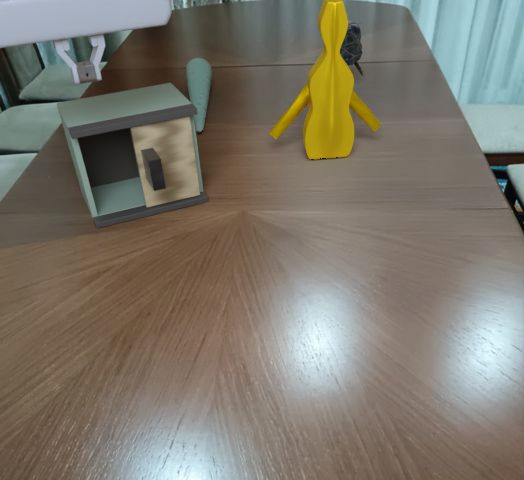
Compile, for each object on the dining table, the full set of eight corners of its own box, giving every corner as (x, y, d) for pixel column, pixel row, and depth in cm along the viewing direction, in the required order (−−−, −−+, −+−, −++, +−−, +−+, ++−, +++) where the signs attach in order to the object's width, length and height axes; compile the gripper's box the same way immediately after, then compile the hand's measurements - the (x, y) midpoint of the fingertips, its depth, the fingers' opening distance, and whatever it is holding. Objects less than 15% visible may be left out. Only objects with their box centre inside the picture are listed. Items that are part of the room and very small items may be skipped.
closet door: (154, 220, 76) (138, 138, 69) (145, 205, 79) (129, 125, 72) (209, 207, 78) (199, 126, 71) (198, 192, 81) (188, 113, 74)
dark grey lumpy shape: (363, 96, 111) (371, -27, 97) (305, 96, 112) (305, -24, 99) (363, 82, 117) (370, -35, 103) (307, 83, 118) (307, -32, 105)
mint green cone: (180, 104, 96) (183, 58, 116) (184, 136, 100) (187, 87, 120) (212, 101, 97) (210, 56, 116) (215, 133, 100) (213, 85, 120)
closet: (96, 228, 77) (70, 132, 69) (81, 192, 86) (56, 103, 77) (208, 201, 81) (196, 108, 73) (183, 169, 90) (170, 82, 81)
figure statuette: (376, 140, 94) (389, -16, 80) (387, 160, 89) (404, -4, 74) (268, 149, 94) (262, -6, 79) (273, 169, 88) (267, 6, 73)
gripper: (151, -87, 58) (171, 59, 68) (-63, -69, 53) (-10, 88, 62) (168, -82, 54) (186, 74, 63) (-64, -62, 49) (-7, 106, 58)
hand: (87, 81), depth 63 cm, fingers closed
